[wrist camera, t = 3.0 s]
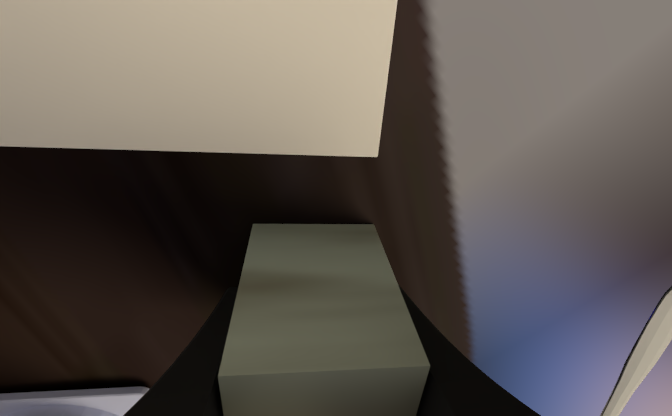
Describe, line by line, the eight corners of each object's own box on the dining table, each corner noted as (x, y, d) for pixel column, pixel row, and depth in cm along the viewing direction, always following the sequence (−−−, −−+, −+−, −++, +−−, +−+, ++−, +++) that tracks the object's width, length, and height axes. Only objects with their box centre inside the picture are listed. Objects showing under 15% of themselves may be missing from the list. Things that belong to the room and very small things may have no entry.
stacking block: (362, 311, 14) (399, 473, 9) (258, 314, 14) (234, 487, 9) (373, 224, 12) (430, 366, 7) (252, 223, 12) (217, 376, 7)
